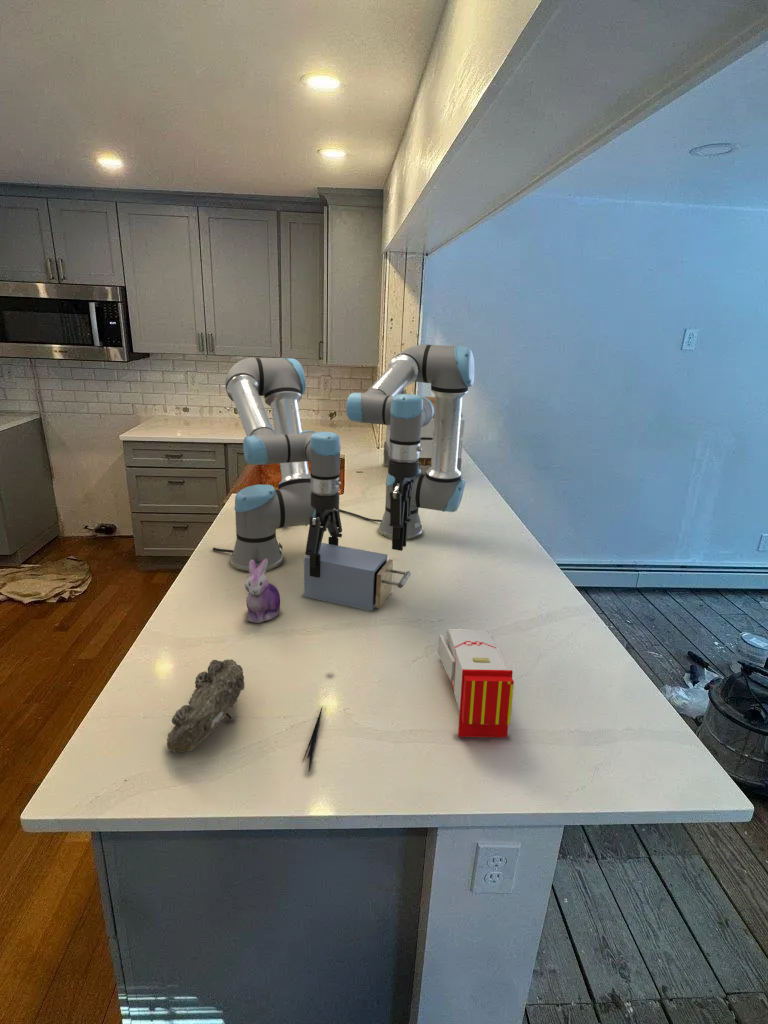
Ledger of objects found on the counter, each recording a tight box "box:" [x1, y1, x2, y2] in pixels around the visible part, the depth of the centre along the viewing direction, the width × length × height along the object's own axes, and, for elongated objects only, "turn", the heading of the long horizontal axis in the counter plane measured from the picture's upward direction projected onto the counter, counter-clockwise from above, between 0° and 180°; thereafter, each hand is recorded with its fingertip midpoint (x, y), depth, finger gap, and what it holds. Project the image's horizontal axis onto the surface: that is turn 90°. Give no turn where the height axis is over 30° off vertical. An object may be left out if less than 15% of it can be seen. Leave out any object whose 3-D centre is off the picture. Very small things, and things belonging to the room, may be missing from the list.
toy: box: [437, 628, 515, 738], centre depth 117 cm, size 12×13×30 cm
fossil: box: [166, 658, 245, 754], centre depth 106 cm, size 22×10×15 cm
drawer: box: [374, 558, 412, 609], centre depth 153 cm, size 24×10×10 cm, turn 71°
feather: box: [301, 673, 332, 771], centre depth 108 cm, size 2×28×2 cm
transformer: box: [383, 389, 465, 472], centre depth 268 cm, size 34×33×41 cm
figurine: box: [244, 559, 282, 624], centre depth 141 cm, size 9×10×15 cm
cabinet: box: [303, 542, 389, 612], centre depth 154 cm, size 20×11×12 cm, turn 71°
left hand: (324, 567), depth 156 cm, fingers closed on cabinet, 11 cm apart
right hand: (398, 547), depth 146 cm, fingers open, 2 cm apart
